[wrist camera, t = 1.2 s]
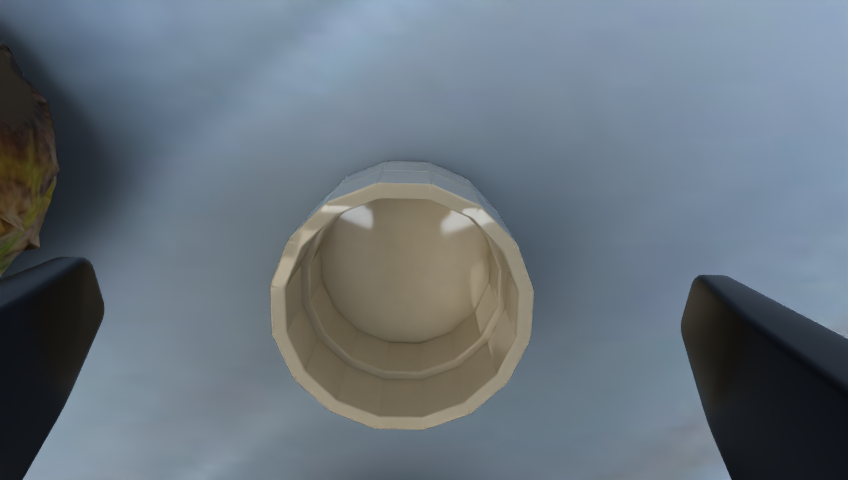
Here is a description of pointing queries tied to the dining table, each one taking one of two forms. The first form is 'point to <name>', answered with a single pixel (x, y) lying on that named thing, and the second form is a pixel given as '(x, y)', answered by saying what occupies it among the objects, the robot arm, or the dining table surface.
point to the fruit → (23, 161)
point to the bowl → (402, 298)
